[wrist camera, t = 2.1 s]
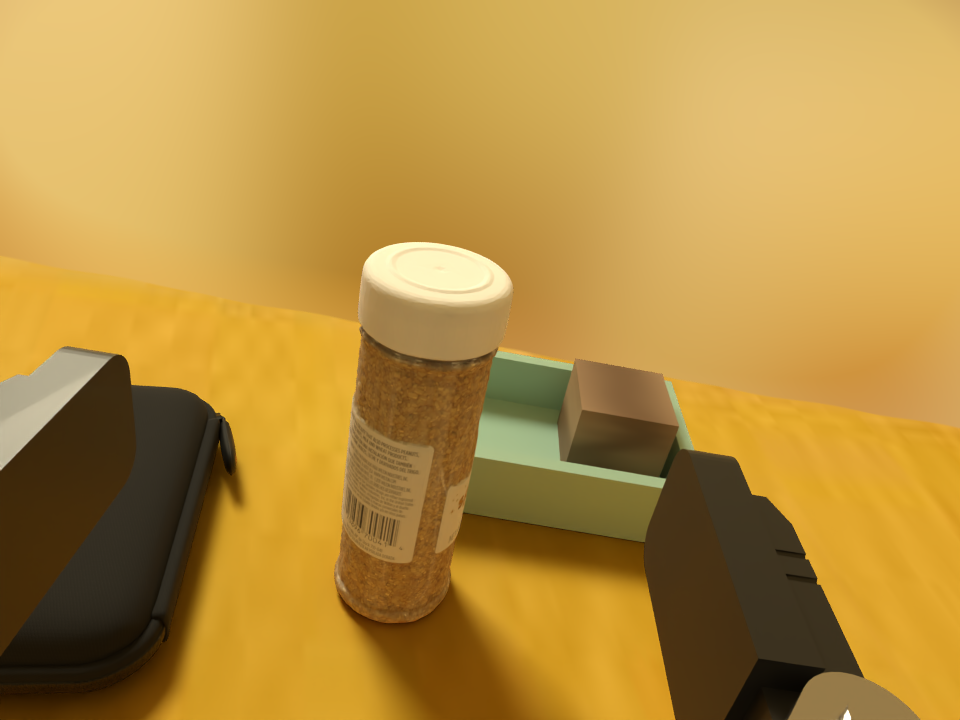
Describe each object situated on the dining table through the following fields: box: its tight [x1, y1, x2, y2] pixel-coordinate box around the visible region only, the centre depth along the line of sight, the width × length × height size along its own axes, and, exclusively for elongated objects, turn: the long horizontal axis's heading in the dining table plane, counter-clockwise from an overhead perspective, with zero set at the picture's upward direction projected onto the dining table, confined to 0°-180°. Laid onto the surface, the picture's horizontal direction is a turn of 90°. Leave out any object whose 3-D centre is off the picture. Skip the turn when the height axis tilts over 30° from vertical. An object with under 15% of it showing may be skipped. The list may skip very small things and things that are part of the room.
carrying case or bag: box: [0, 385, 237, 694], centre depth 27 cm, size 11×3×15 cm
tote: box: [463, 351, 694, 542], centre depth 35 cm, size 15×9×3 cm, turn 87°
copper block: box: [557, 359, 679, 478], centre depth 35 cm, size 4×4×4 cm
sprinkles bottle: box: [334, 242, 513, 623], centre depth 25 cm, size 5×5×13 cm
